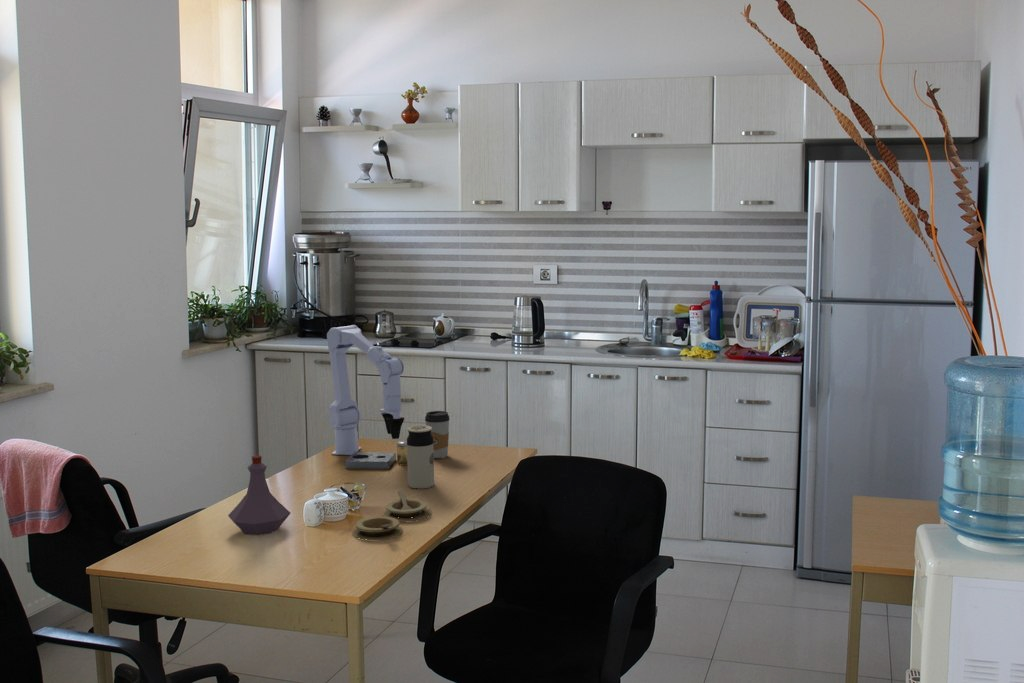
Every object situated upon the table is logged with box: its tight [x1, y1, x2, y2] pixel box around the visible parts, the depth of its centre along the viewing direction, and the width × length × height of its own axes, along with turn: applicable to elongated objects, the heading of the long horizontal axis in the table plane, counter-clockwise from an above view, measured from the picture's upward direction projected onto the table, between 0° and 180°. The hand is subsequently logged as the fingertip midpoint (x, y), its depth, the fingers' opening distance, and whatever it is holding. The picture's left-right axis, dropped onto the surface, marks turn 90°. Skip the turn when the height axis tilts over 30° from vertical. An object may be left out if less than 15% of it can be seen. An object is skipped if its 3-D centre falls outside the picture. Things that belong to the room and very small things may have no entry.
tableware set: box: [351, 488, 433, 541], centre depth 278 cm, size 30×20×6 cm, turn 158°
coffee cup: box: [424, 410, 450, 459], centre depth 347 cm, size 8×8×15 cm
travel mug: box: [406, 424, 435, 490], centre depth 312 cm, size 8×8×18 cm
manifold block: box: [344, 451, 397, 470], centre depth 339 cm, size 12×14×2 cm
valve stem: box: [396, 440, 408, 466], centre depth 340 cm, size 4×4×7 cm
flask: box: [227, 455, 291, 536], centre depth 273 cm, size 16×16×20 cm
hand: (393, 436), depth 337 cm, fingers open, 7 cm apart
